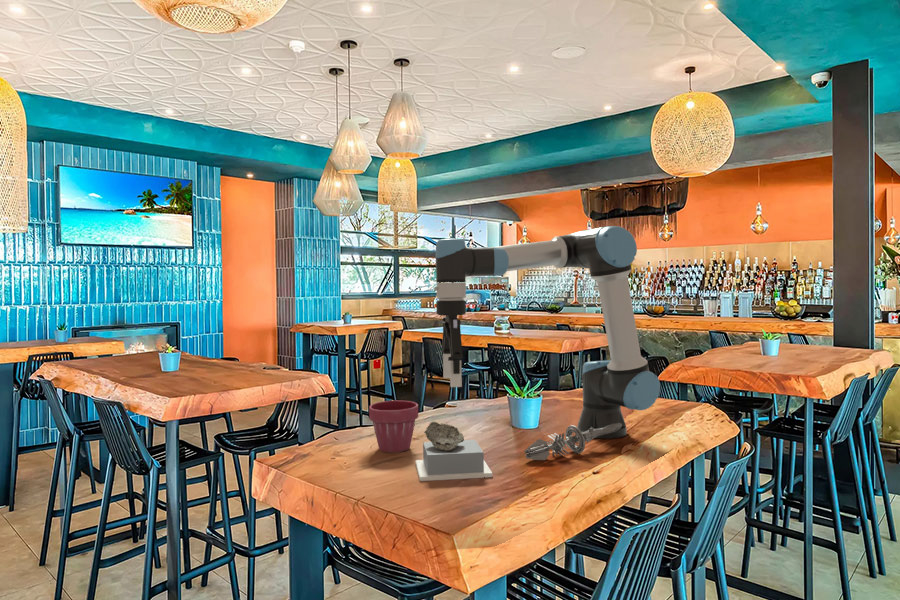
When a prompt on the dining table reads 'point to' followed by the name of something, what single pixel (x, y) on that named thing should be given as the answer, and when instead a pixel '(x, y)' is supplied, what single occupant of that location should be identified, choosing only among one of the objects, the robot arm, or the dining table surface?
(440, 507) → the dining table surface
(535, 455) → the spaceship
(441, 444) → the rock sample
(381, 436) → the plant pot
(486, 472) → the plinth
